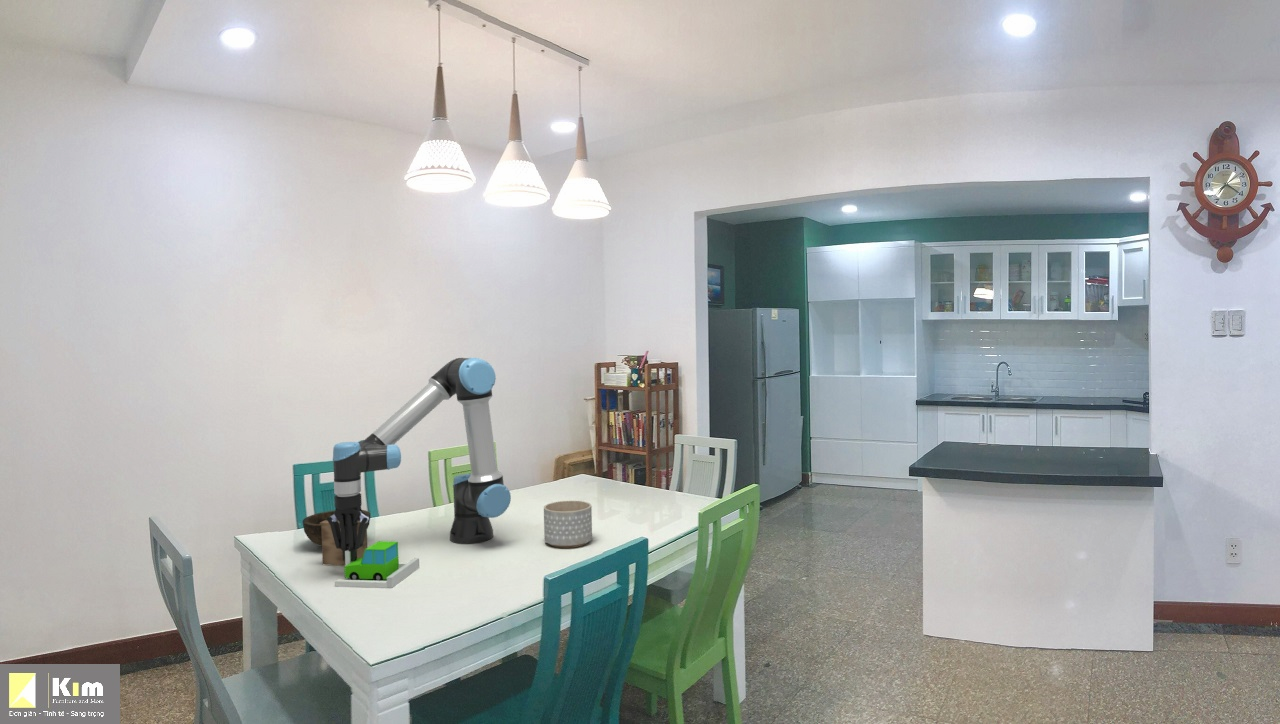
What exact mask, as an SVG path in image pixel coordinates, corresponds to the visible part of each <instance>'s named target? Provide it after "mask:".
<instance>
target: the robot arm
mask: <svg viewBox="0 0 1280 724" xmlns="http://www.w3.org/2000/svg"><path fill="white" fill-rule="evenodd" d="M496 376H497V375H496V371H495V369H494V368H493V366H492V365H491V364H490V363H489V362H488V361H487V360H484V359H481V358H479V357H478V358H477V357H458V358H454V359H452V360H450V361H449V362H447V363H446V364H444V365H443V366H442V367H441V368H440V369H439V370H438V371H436V372H435V373H434V374H433V375H432V376H431V377H429V379H428V382H427V384H426V385H425V386H424V387H423V388H421V390H419V392H417V393H416V394H415V395H414V396H413V397H412V398H411V399H409V400H408V401H407V402H406V403H405V404H404V405H402V407H400V408H399V409H398V410H397V411H395V412H394V414H393V415H391V416H390V417H389V418H388V419H387V420H386V421H385V422H384V423H382V424H381V425H380V426H379V427H378V428H377V429H376V430H375V431H373V432H372V433H371V434H370V435H368V436H367V437H366V438H365V439H363V440H358V441H344V442H338V443H335V444H334V445H333V450H332V451H333V452H332V463H333V493H334V495H335V496H334V497H333V498H334V499H333V500H334V508H335V509H334V510H335V512H334V515H332V516H330V517H328V518H327V521H328V522H329V524H330V526H331V530H332V534H333V538H334V541H335V545H336V548H337V549H338V548H339V549H341V550H342V551H343V561H345V565H344V567H345V566H346V565H348V564H350V563H351V562H353V561H355V560H357V549H359V548H360V547H362V546H363V543H364V538H365V533H366V528H367V523H368V522H369V520H370V521H371V515H370V516H365V515H364V514H363V511H362V510H363V509H362V505H363V504H362V503H363V502H362V493H361V491H362V481H361V480H362V479H361V478H362V476H361V474H362V473H367V472H377V471H385V470H391V469H392V470H393V469H396V468H399V466H400V465H401V463H402V453H401V449H400V447H399V445H397V442H399V441H400V440H401V439H403V437H404V436H405V435H406V434H407V433H409V432H410V431H411V430H412V429H413V428H414V427H416V426H417V425H418V424H419V423H420V422H421V421H422V420H423V419H424V418H425V417H426V416H427V415H429V414H430V413H431V412H432V411H433V410H434V409H435V408H437V407H438V405H440V404H441V403H442V402H444V400H446V401H447V400H450V399H451V398H452V397H454V396H455V395H456V400H457V402H458V403H459V404H461V405H462V409H463V411H462V412H463V418H464V425H465V427H464V428H465V432H466V441H467V447H468V448H467V449H468V453H469V462H470V470H471V471H470V473H464V474H457V475H455V476H454V478H453V484H452V488H453V511H454V515H453V517H454V518H453V520H452V521H453V522H452V525H451V527H450V531H449V541H451V542H452V543H456V544H475V543H477V544H478V543H481V542H486V541H489V540H490V539H493V537H494V528H493V525H492V523H491V520H490V519H494V518H498V517H500V516H502V515H503V514H504V513H505V512H506V511H507V509H508V508H509V507H510V505H511V499H512V496H511V492H510V489H508V487H507V486H506V485H505V484H504V475H503V473H502V472H500V471H499V470H498V467H497V466H498V465H497V459H496V457H497V456H496V449H495V442H494V433H493V426H492V421H491V419H492V417H491V412H490V402H489V401H490V400H491V399H492V397H493V392H492V391H493V390H492V389H493V387H494V386H495V384H496V379H497V378H496ZM337 519H338V521H339V522H340V527H339V523H338V521H337ZM359 519H360V522H361V523H360V525H359V530H358V535H357V526H358V520H359ZM369 523H370V522H369ZM340 528H341V531H340ZM367 529H368V528H367ZM349 548H350V549H349Z"/></svg>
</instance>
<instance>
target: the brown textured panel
mask: <svg viewBox="0 0 1280 724" xmlns="http://www.w3.org/2000/svg"><path fill="white" fill-rule="evenodd" d="M338 523H339V527H340V522H339V521H338ZM360 523H361V522H360V521H358V526H357V535H358V530H359V525H360ZM367 524H368V523H367ZM320 525H321V531H322V546H321V549H322V550H321V551H322V552H321V554H322V559H321V560H322V565H323V564H332V565H331V566H345V561H343V551H342V550H341V549H339V548H338V549H337V548H336V545H335V541H334V538H333V534H332V530H331V526H330V524H329V522H328V521H327V520H324V521H322V522H320ZM340 531H341V528H340ZM366 548H368V528H366V533H365V538H364V543H363V546H362V547H360V548H359V549H357V559H358V558H363V554H364V551H365V549H366ZM349 549H350V548H349Z"/></svg>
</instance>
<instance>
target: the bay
mask: <svg viewBox="0 0 1280 724" xmlns="http://www.w3.org/2000/svg"><path fill="white" fill-rule="evenodd" d="M419 568H420V558H419V557H414V558H412V559H411V560H410V561H408V562H402V561H401V562H400V561H399V569H398V570H397V571H395V572H394V573H392V574H391V575H390V576H388V577H387V579H386V580H383V581H374V579H360V580H350V579H336V580H334V587H340V588H341V587H343V588H372V589H373V588H375V589H376V588H379V589H393V588H395V586H397V585H398V584H400V583H401V582H402V581H403V580H405V579H406V578H407V577H409V576H410V575H412V574H413V573H414V572H416V571H417V570H418V569H419Z"/></svg>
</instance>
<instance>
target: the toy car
mask: <svg viewBox="0 0 1280 724" xmlns="http://www.w3.org/2000/svg"><path fill="white" fill-rule="evenodd" d="M399 562H400V561H399V541H395V540H394V541H389V540H387V541H386V540H378V541H377V542H375V543H372V545H370V546H367V548H366V549H365V551H364V554H363V558H358V559H357V560H355V561H353V562H351V563H350V564H348V565H346V566H345V565H344V577H345V579H349V580H373V581H385V580H387V577H388V576H390V575H391V574H392V573H394V572H395V571H397V570H398V569H399Z"/></svg>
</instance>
